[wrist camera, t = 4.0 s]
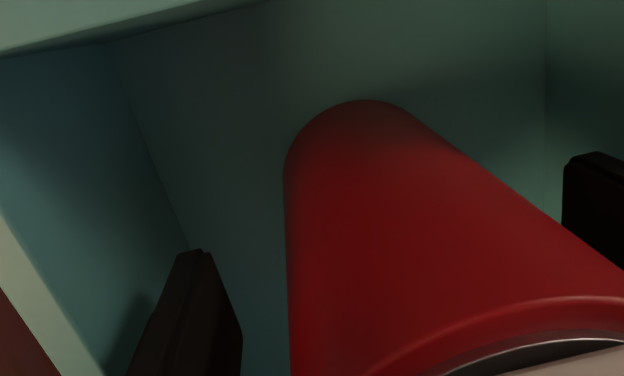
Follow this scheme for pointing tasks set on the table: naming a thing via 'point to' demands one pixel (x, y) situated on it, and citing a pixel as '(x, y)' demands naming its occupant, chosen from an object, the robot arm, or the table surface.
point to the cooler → (254, 137)
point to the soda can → (427, 258)
